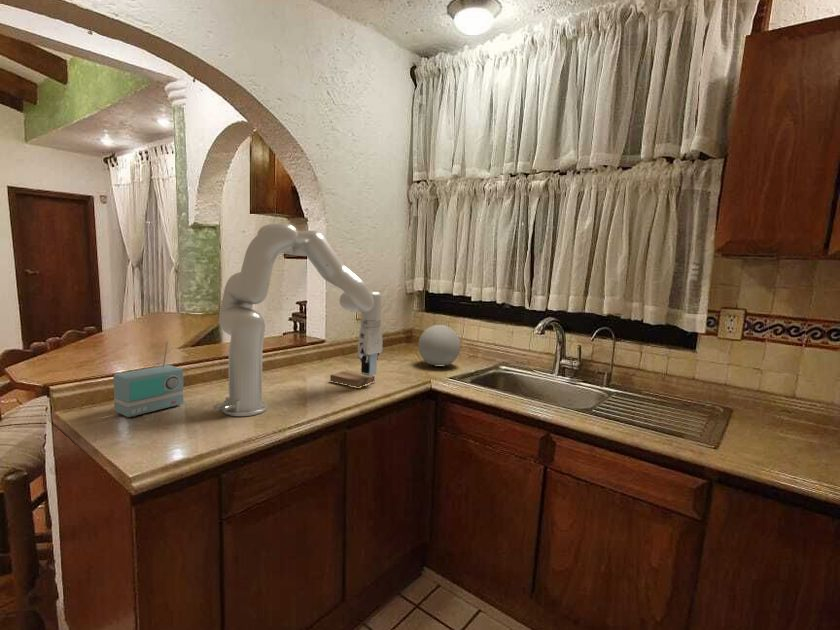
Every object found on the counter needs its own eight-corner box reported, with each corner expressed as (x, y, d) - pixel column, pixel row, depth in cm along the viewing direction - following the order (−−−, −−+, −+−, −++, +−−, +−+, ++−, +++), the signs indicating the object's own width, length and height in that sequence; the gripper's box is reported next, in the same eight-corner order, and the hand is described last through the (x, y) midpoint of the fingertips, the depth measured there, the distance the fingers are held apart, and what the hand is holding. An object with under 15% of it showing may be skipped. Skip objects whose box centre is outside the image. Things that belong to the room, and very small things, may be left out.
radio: (129, 421, 118) (127, 350, 116) (114, 414, 123) (112, 346, 121) (186, 406, 132) (185, 343, 130) (170, 401, 137) (168, 339, 134)
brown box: (358, 388, 160) (358, 381, 159) (330, 382, 167) (330, 374, 166) (374, 383, 168) (374, 376, 168) (347, 377, 175) (347, 370, 175)
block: (369, 376, 160) (370, 354, 159) (361, 374, 162) (362, 353, 161) (376, 374, 163) (376, 353, 163) (367, 372, 165) (368, 351, 165)
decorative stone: (410, 363, 207) (412, 322, 205) (445, 360, 217) (447, 321, 215) (430, 372, 190) (432, 328, 188) (467, 369, 199) (469, 327, 197)
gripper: (364, 327, 152) (362, 377, 154) (391, 323, 166) (389, 369, 168) (348, 324, 155) (346, 373, 157) (375, 321, 170) (374, 366, 172)
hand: (368, 370), depth 163 cm, fingers closed on block, 4 cm apart
